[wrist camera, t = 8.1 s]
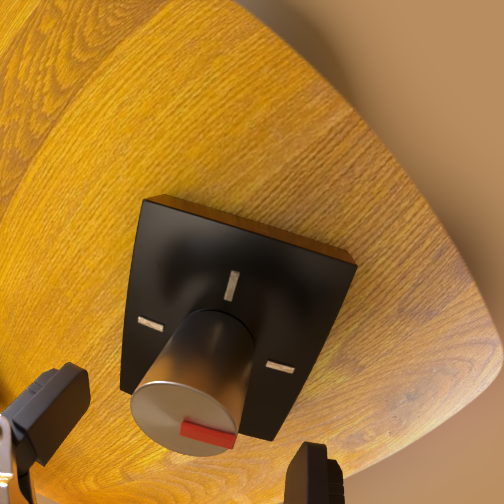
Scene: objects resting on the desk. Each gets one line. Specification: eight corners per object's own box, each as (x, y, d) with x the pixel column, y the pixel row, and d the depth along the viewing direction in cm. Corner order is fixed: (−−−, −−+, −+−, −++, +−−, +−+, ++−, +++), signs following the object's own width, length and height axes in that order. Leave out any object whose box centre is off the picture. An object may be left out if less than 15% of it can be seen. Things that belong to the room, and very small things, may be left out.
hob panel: (163, 193, 16) (140, 198, 13) (348, 250, 15) (359, 267, 13) (134, 368, 19) (118, 391, 16) (275, 415, 19) (272, 444, 16)
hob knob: (172, 365, 15) (128, 441, 10) (180, 300, 14) (124, 371, 9) (245, 385, 15) (225, 472, 10) (263, 322, 14) (247, 410, 8)
